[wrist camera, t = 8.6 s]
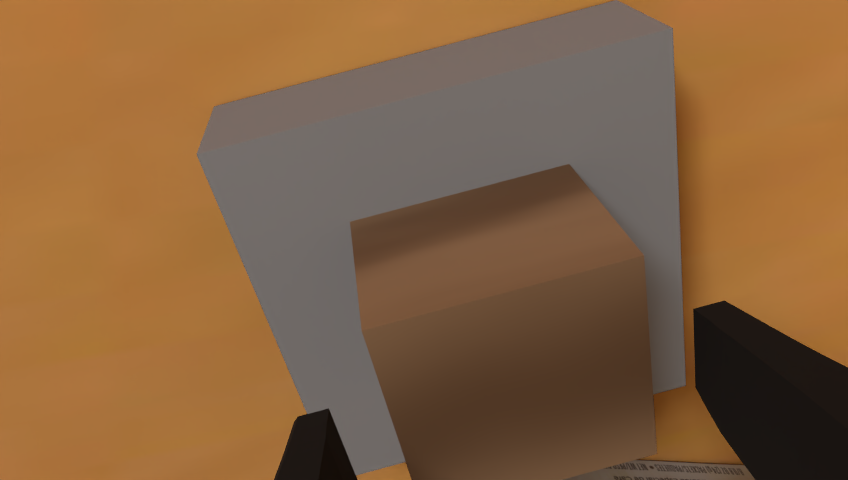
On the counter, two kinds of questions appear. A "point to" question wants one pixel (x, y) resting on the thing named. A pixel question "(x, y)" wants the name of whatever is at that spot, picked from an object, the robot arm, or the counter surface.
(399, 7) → the counter surface
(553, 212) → the walnut block
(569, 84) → the slate base block
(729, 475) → the coffee box
